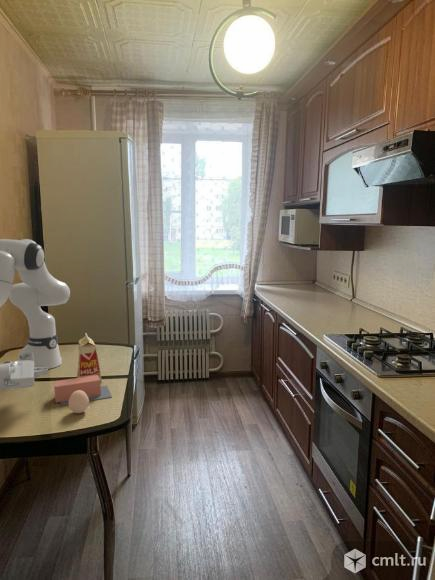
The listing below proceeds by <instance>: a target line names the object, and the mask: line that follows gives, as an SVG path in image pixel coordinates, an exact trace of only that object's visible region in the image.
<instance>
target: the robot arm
mask: <svg viewBox="0 0 435 580" xmlns="http://www.w3.org/2000/svg"><path fill="white" fill-rule="evenodd" d="M45 256H46V255H45V251H44V248H43V247H42V246H41V245H40V244H38V243H37V242H36V241H34V240H32V239H29V238H24V239H23V238H22V239H21V240H19V239H8V238H0V308H1V307H3V305H5V303H6V302H7V300H8V299H9V300H10V302H11V304H12V305H13V306H15V307H17V308H18V309H19V310H20V311H21V312H22V313H23V315H24V316H25V318H26V320H27V322H28V323H27V324H28V329H29V336H28V337H26V341H27V344H26V345H25V346H24V347H23V348H21V349H20V351H19V352H18V355H17V360H15V361H12V360H5V361H4V362H3V363H0V391H4V390H11V389H12V390H15V389H17V390H18V389H19V390H20V389H28V388H32V387H34V386H35V378H39V377H42V376H44V375H45V376H46V375H48V374H49V370H50V369H53V368H56V367H59V366H61V365H62V363H63V362H62V360H63V358H62V356H61V352H60V348H59V344H58V338H59V337H58V334H57V329H56V319H55V317H54V315H52V314H51V313H48V312H46V311H44V310H42V308H41V307H45V306H46V307H48V306H49V307H50V306H59V305H64V304H67V302H68V301H69V300H70V296H71V289H70V288H69V286H68V285H67V283H66V282H64V281H61V280H58V279H57V278H55V277H54V276H53V275H52V274H51V273H50V272H49V270H48V268H47V265H46V262H45ZM16 270H17V273H18V275H19V278H20V280H21V281H22V282H19V283H16V284H13V283H14V279H15V273H16V272H15V271H16Z"/></svg>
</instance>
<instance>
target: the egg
mask: <svg viewBox="0 0 435 580" xmlns="http://www.w3.org/2000/svg"><path fill="white" fill-rule="evenodd" d="M89 405H90V401H89V399H88V396H87V394H86V393H85V392H83V391H81V390H77V391H75V392H73V393H72V395H71V396H70V398H69V405H68V408H69V409H70V410H71V412H73V414H81V413H83V412H85V411H86V410H87V409H88V407H89Z"/></svg>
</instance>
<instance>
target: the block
mask: <svg viewBox="0 0 435 580" xmlns="http://www.w3.org/2000/svg"><path fill="white" fill-rule="evenodd" d="M53 386H54V387H53V388H54V389H53V390H54V399H55V400H54V401H55V404H56V403H60V402H63V401H69V398H70V396H71V395H72V393H73V392H75V391H77V390H81V391H83V392H85V393H86V394H87V396H88V397H93V396H99V395H101V386H102V385H101V382H100V378H99V376H98V375H94V376H87V377H80V378H77V377H75V378H68V379H60V380H55V381H53Z"/></svg>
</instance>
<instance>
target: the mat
mask: <svg viewBox="0 0 435 580" xmlns="http://www.w3.org/2000/svg"><path fill="white" fill-rule="evenodd" d="M100 386H101V395H99V396H93V397H88V399H89V402H93V401H98V400H104V399H110V398H112V397H113V396H112V394H111V391H110V389H109V387H108V385H100ZM59 404H60V407H62V406H69V401H63V402H59Z"/></svg>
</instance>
